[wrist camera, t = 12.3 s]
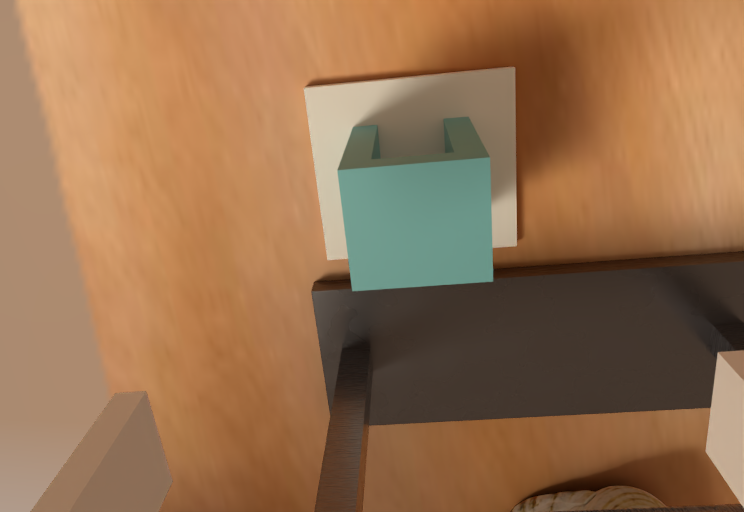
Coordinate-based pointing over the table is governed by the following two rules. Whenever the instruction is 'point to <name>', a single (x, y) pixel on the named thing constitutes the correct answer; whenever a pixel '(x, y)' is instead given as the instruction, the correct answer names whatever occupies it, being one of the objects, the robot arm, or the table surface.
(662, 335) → the stand
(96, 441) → the robot arm
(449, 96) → the mat
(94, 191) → the table surface
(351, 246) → the c link
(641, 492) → the seashell
